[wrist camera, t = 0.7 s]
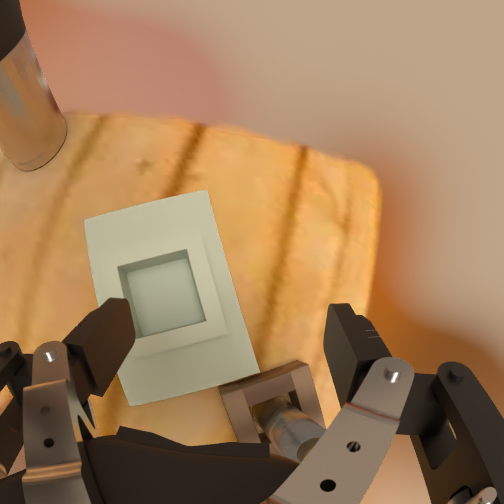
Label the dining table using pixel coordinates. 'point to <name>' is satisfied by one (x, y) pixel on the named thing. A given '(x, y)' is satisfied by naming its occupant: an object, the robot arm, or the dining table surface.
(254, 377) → the socket block
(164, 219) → the board
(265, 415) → the stepped metal cylinder
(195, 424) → the dining table surface
